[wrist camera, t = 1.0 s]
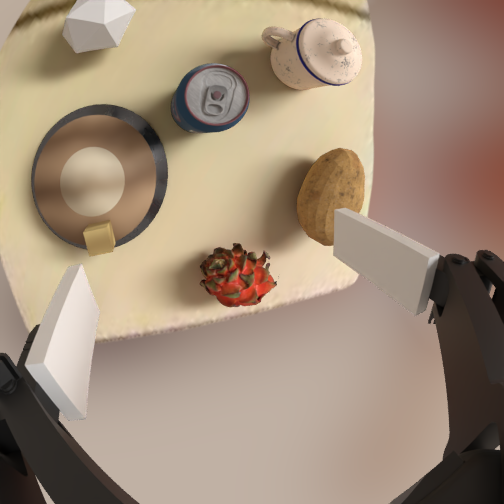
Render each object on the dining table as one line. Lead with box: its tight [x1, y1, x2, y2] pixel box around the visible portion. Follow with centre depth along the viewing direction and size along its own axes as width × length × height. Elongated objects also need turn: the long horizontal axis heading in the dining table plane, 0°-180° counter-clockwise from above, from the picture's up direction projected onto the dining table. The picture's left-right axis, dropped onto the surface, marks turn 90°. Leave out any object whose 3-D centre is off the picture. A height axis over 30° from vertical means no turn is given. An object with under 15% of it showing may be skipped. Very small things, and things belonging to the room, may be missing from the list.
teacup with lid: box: [262, 18, 362, 90], centre depth 27 cm, size 12×9×12 cm
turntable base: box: [32, 104, 168, 249], centre depth 31 cm, size 19×19×1 cm
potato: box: [297, 148, 365, 246], centre depth 39 cm, size 10×14×8 cm
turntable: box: [34, 115, 156, 256], centre depth 28 cm, size 16×16×5 cm
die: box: [62, 0, 136, 53], centre depth 20 cm, size 8×9×10 cm
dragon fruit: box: [200, 243, 280, 307], centre depth 40 cm, size 8×8×12 cm
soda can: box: [171, 63, 249, 133], centre depth 27 cm, size 7×7×12 cm
